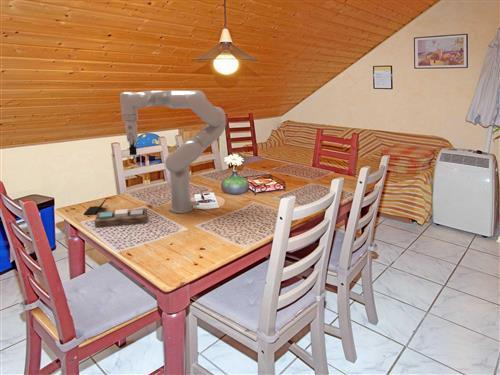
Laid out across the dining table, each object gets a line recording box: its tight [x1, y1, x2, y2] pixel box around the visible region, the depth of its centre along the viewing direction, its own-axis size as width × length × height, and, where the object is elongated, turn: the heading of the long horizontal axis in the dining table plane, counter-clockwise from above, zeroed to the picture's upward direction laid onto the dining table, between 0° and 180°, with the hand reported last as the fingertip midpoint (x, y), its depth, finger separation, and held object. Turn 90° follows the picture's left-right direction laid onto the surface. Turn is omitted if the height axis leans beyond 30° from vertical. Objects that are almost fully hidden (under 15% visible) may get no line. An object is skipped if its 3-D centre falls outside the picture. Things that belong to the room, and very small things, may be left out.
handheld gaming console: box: [83, 198, 107, 216], centre depth 195 cm, size 12×7×10 cm
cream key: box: [114, 208, 129, 218], centre depth 182 cm, size 6×6×2 cm
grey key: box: [130, 208, 144, 216], centre depth 184 cm, size 6×6×2 cm
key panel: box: [94, 208, 148, 228], centre depth 183 cm, size 23×12×3 cm, turn 104°
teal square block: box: [99, 211, 113, 219], centre depth 181 cm, size 6×6×2 cm
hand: (133, 154), depth 190 cm, fingers closed
